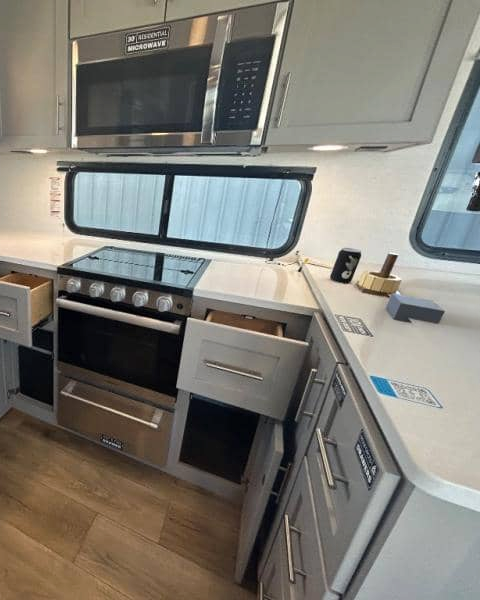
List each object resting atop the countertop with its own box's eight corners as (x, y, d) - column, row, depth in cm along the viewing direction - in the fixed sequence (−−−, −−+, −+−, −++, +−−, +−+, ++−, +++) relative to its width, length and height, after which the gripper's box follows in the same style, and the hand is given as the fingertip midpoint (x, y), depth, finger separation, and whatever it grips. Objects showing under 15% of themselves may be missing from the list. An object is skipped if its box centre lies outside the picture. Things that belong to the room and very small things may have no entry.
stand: (391, 290, 116) (408, 253, 111) (399, 299, 108) (418, 259, 103) (356, 284, 120) (371, 248, 115) (362, 292, 112) (378, 254, 107)
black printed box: (332, 282, 121) (344, 250, 117) (326, 276, 127) (337, 246, 122) (353, 284, 120) (366, 252, 115) (346, 279, 125) (358, 248, 121)
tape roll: (397, 288, 114) (402, 276, 112) (395, 295, 107) (401, 282, 105) (360, 280, 120) (365, 268, 119) (356, 286, 113) (361, 274, 112)
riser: (424, 316, 96) (432, 300, 94) (436, 327, 89) (445, 311, 87) (385, 308, 100) (392, 293, 98) (393, 319, 93) (400, 303, 91)
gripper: (531, 138, 73) (498, 213, 79) (520, 145, 83) (491, 211, 88) (481, 140, 78) (452, 210, 84) (476, 147, 88) (451, 209, 93)
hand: (472, 211), depth 86 cm, fingers open, 8 cm apart
